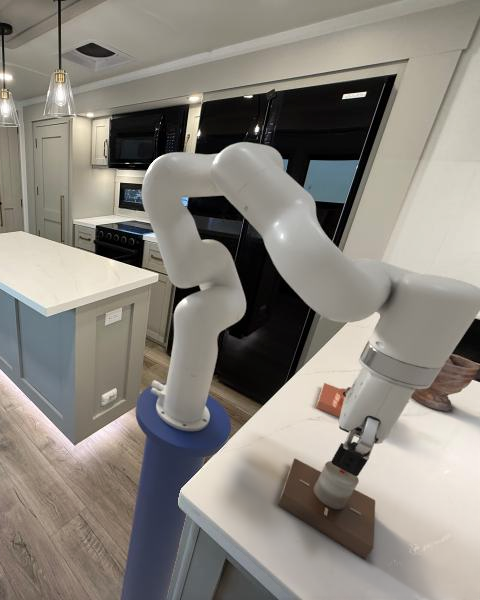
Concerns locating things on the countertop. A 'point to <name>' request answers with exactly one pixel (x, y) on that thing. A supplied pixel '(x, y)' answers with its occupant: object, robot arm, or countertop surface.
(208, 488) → the countertop surface
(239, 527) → the countertop surface
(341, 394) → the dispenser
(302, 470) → the lock panel
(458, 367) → the mortar and pestle
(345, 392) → the dark grey push button
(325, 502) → the lock knob
